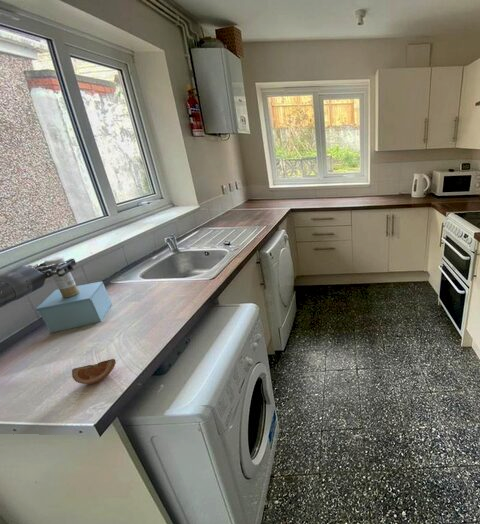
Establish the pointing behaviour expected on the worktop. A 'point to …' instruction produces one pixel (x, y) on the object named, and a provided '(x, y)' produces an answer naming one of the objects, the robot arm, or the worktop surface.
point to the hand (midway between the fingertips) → (62, 262)
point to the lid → (57, 300)
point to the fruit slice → (93, 372)
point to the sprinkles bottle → (63, 279)
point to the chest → (77, 312)
